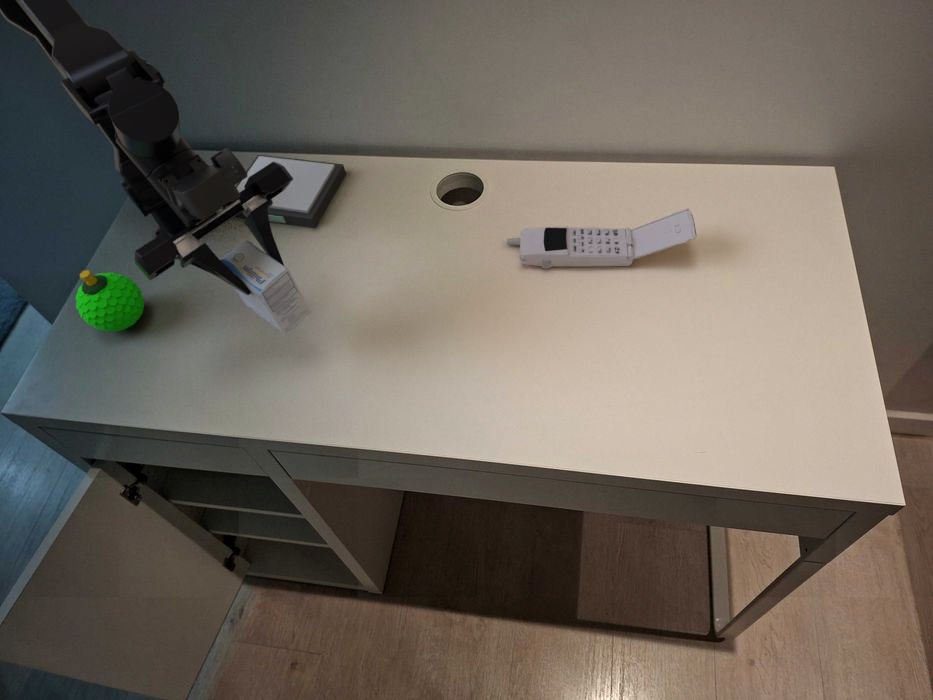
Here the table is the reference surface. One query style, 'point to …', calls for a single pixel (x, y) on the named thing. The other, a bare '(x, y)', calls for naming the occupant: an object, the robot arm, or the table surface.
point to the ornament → (109, 301)
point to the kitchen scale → (300, 189)
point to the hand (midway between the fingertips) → (266, 281)
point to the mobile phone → (602, 242)
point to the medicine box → (267, 287)
